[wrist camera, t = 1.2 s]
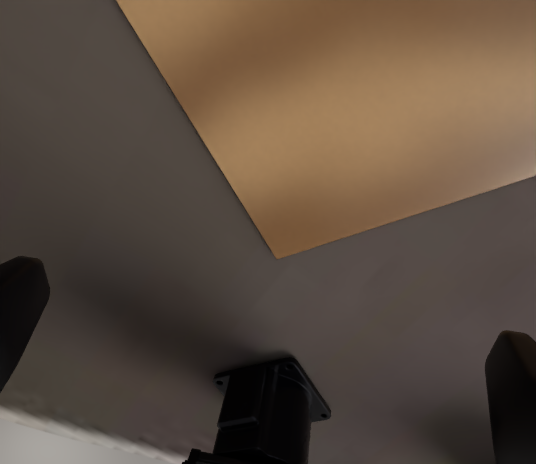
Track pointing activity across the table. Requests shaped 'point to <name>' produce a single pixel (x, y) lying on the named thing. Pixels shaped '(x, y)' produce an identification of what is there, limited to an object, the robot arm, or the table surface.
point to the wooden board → (350, 103)
